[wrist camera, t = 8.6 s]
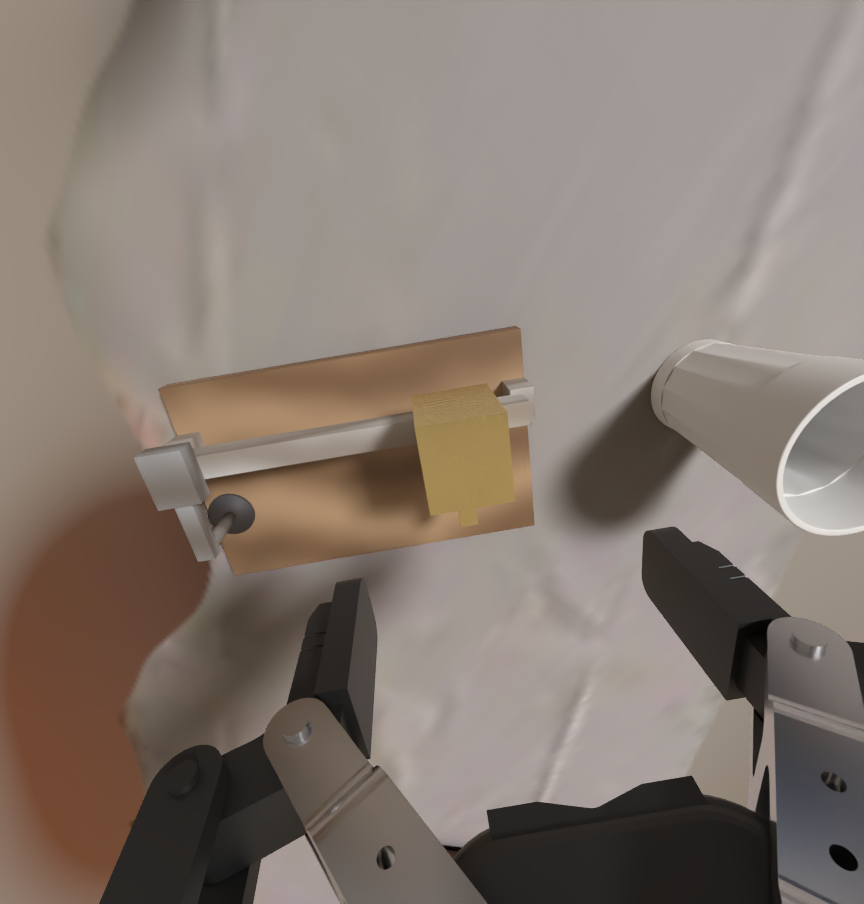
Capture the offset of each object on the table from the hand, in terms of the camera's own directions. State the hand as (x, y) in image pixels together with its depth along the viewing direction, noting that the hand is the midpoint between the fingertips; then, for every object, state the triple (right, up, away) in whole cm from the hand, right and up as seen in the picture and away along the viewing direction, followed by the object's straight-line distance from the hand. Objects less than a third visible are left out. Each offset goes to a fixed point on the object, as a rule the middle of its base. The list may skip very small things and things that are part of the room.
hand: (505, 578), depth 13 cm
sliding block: (-1, +5, +16) cm, 16 cm away
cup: (+16, +8, +18) cm, 25 cm away
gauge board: (-7, +3, +18) cm, 19 cm away
